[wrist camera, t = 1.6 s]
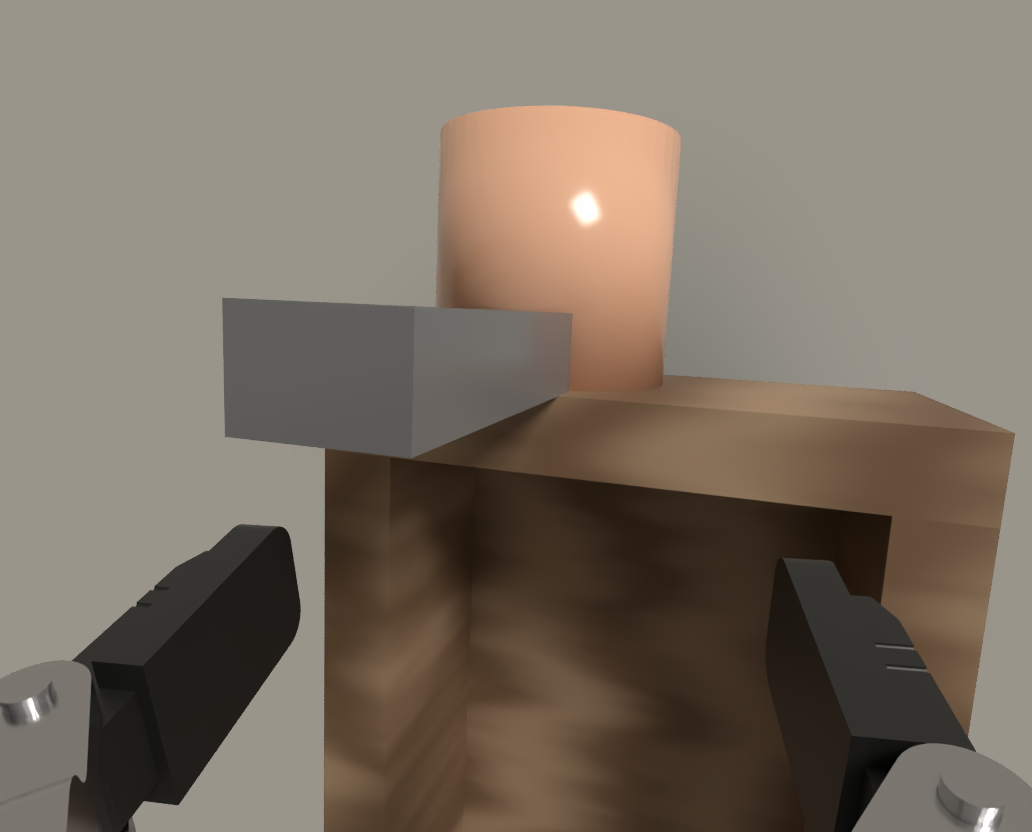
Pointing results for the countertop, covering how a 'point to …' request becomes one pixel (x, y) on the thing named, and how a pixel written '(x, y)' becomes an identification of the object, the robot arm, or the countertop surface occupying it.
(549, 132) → the peach cylinder
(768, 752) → the stand
